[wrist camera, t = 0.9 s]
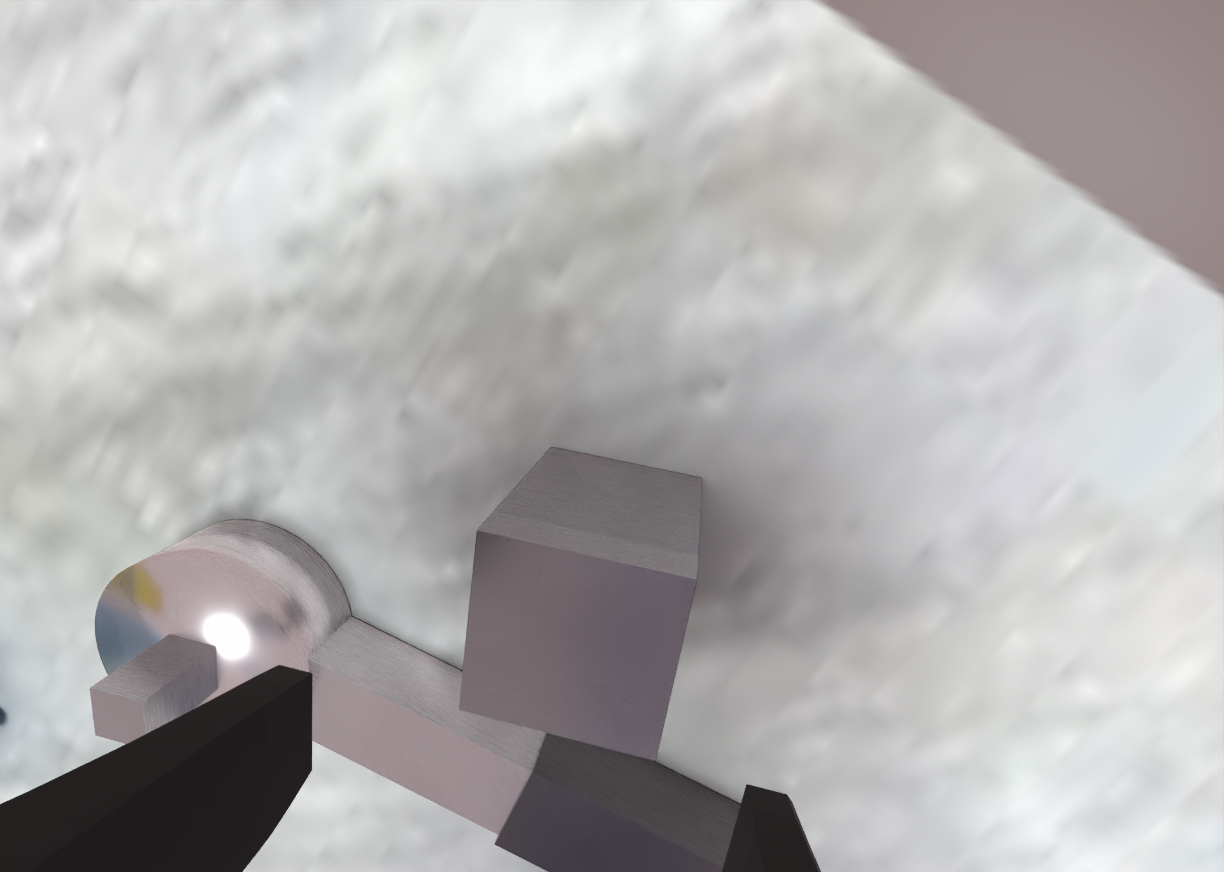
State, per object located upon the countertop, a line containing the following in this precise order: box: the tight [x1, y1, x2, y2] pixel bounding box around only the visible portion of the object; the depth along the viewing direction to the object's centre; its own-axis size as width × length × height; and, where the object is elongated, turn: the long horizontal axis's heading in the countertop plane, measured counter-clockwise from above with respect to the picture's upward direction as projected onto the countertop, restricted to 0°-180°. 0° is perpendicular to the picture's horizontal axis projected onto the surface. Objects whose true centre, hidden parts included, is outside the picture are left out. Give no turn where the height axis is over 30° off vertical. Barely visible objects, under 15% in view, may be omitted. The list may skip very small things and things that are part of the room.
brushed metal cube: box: [459, 447, 702, 761], centre depth 16 cm, size 5×5×6 cm
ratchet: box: [90, 519, 741, 872], centre depth 19 cm, size 10×22×6 cm, turn 81°
